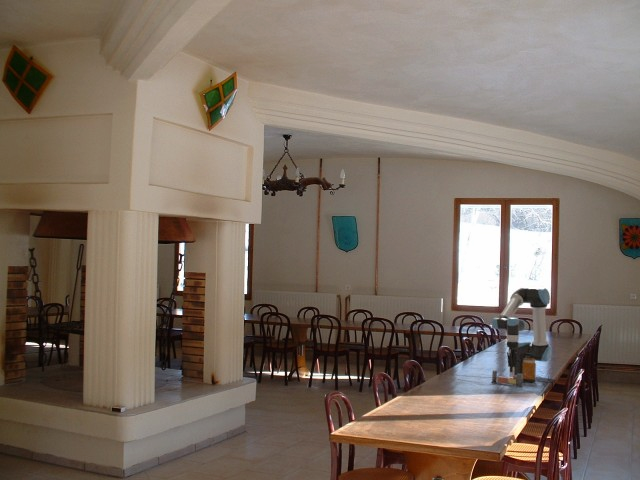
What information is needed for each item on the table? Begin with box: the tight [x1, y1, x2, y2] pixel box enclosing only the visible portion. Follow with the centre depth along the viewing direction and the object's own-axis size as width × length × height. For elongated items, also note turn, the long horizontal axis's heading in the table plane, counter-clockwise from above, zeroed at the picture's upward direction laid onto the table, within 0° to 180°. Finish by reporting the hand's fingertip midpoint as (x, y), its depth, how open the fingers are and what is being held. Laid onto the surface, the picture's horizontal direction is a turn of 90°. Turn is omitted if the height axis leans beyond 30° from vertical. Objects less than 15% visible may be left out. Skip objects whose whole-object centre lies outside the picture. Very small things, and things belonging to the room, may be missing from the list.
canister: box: [519, 352, 537, 384], centre depth 479 cm, size 9×11×20 cm
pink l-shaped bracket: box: [496, 375, 517, 387], centre depth 465 cm, size 2×13×6 cm, turn 54°
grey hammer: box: [507, 374, 524, 388], centre depth 461 cm, size 4×8×8 cm, turn 52°
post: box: [490, 370, 498, 384], centre depth 470 cm, size 4×4×8 cm
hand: (511, 376), depth 467 cm, fingers closed
